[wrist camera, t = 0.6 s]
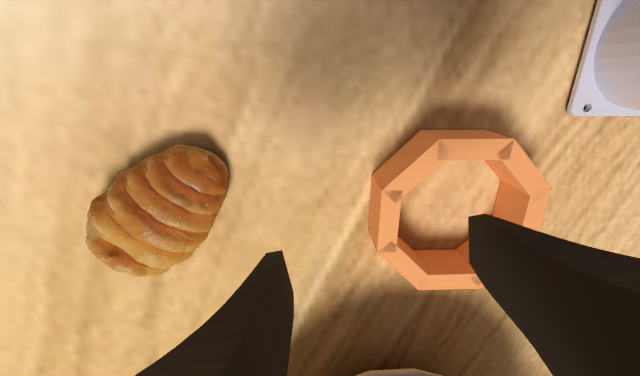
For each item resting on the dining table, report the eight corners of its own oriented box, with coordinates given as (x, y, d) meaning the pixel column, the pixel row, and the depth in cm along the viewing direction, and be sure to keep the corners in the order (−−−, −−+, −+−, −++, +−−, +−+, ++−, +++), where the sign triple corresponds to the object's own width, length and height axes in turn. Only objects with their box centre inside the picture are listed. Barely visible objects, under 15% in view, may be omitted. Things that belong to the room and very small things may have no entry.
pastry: (175, 113, 19) (145, 123, 15) (257, 184, 21) (248, 208, 17) (93, 211, 21) (49, 240, 17) (175, 267, 23) (150, 303, 19)
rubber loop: (529, 129, 20) (566, 138, 17) (497, 261, 23) (523, 287, 20) (374, 130, 19) (386, 139, 17) (365, 264, 23) (373, 291, 20)
